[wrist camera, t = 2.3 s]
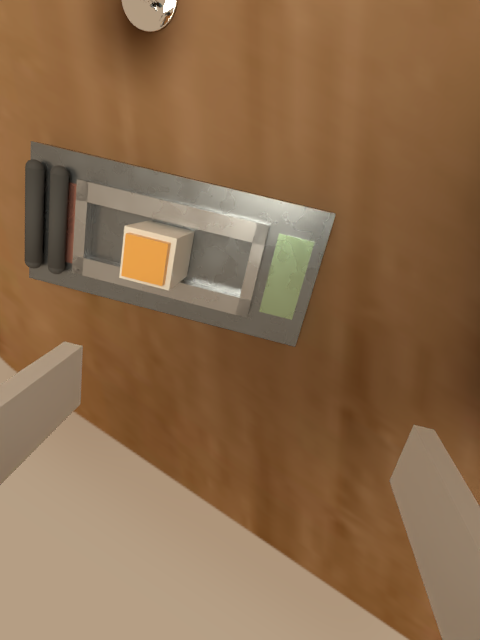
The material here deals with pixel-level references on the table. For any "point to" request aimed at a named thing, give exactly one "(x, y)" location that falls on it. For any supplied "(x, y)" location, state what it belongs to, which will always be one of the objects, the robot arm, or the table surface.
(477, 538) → the robot arm
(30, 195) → the twin grey rollers
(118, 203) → the panel
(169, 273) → the toggle
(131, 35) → the table surface
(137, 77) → the table surface
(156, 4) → the wineglass
